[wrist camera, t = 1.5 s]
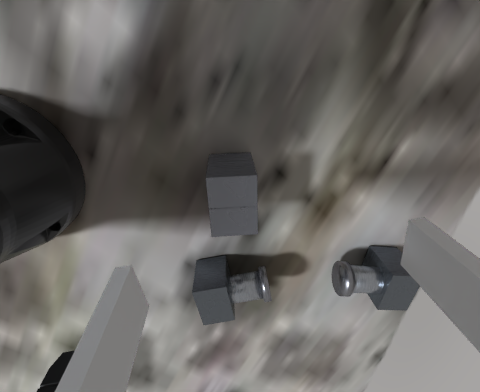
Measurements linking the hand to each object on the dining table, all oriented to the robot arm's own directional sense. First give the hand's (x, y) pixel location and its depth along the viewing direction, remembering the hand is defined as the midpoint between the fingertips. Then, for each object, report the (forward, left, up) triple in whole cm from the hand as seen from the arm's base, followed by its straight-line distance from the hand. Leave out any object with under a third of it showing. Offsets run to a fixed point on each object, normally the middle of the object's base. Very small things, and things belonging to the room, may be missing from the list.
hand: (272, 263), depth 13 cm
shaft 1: (-2, -14, -15) cm, 21 cm away
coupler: (-2, -2, -15) cm, 15 cm away
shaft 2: (+13, -14, -15) cm, 24 cm away
